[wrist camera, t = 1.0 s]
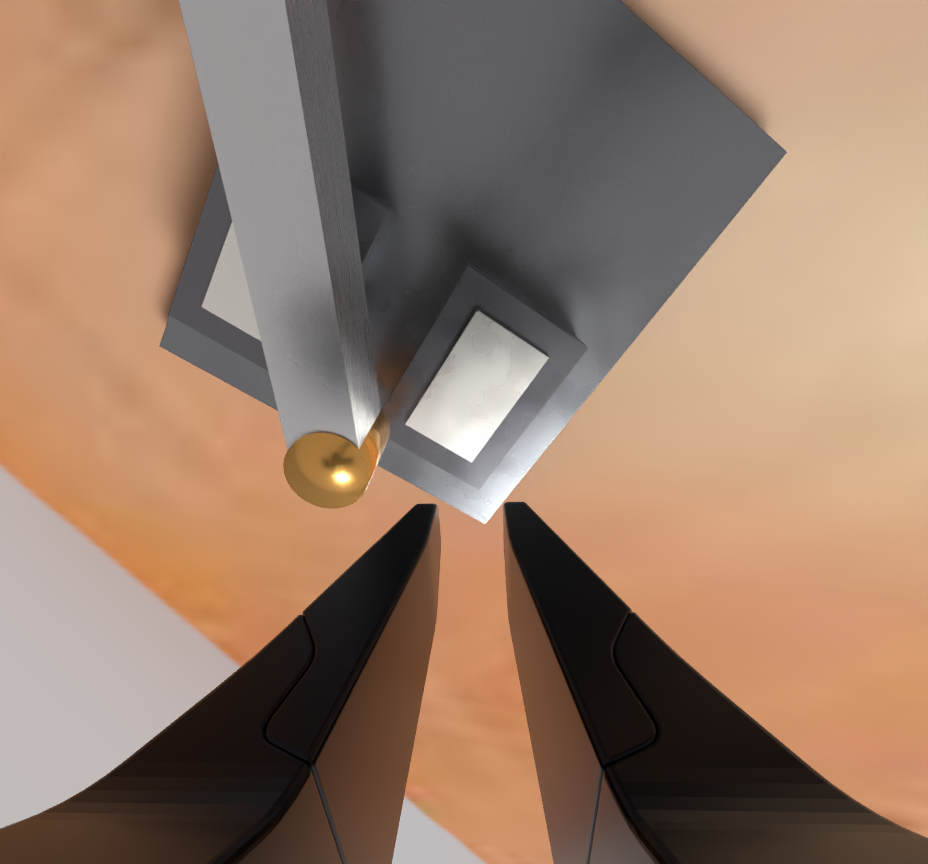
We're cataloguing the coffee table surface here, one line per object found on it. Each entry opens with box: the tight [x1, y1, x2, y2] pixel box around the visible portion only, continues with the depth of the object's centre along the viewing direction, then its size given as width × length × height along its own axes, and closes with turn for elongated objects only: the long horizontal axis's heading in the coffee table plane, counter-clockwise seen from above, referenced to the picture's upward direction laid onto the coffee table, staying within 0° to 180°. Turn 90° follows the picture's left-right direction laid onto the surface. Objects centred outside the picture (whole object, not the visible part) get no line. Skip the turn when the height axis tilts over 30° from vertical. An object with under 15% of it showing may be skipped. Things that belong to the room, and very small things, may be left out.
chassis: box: [160, 0, 787, 524], centre depth 15 cm, size 18×16×3 cm
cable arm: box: [179, 0, 390, 508], centre depth 10 cm, size 18×2×3 cm, turn 3°
